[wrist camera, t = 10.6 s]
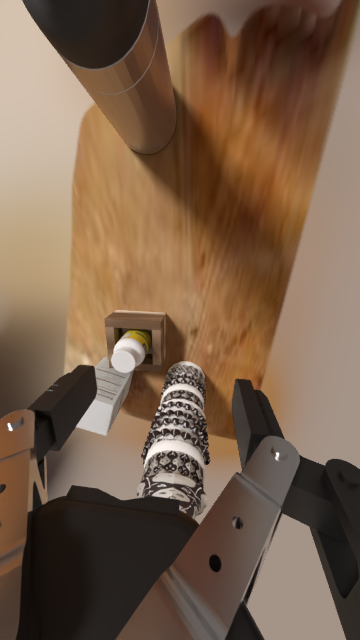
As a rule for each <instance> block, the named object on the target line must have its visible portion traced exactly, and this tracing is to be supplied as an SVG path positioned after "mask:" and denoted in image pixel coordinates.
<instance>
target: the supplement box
mask: <svg viewBox="0 0 360 640" xmlns="http://www.w3.org/2000/svg"><path fill="white" fill-rule="evenodd" d="M133 373H134V370H132V371H131V372H128V373H122V372H119V371H117V370H116V369H114V368H109V359H108V357H104V358H103V359H102V360H101V361H100V362H99V364H98V365H97V366H96V367H95V374H96V382H97V394H96V397H95V399H94V401H93V402H92V404H91V405H90V407H89V408H88V410H87V411H86V413H85V414H84V415H83V417H82V418H81V420H80V421H79V423H78V424H77V426H76V427H78V428H82V429H85V430H88V431H91V432H95V433H98V434H101V435H105V436H106V435H107V434H108V432H109V430H110V428H111V426H112V424H113V422H114V420H115V418H116V416H117V414H118V412H119V410H120V408H121V406H122V404H123V402H124V400H125V398H126V396H127V394H128V392H129V389H130V384H131V380H132V376H133Z"/></svg>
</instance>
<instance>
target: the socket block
mask: <svg viewBox="0 0 360 640" xmlns="http://www.w3.org/2000/svg"><path fill="white" fill-rule="evenodd" d="M105 328H106V338H107V349H108V359H109V368H114V367H113V366H112V363H111V358H112V355H113V354H114V353H113V351H114V347H115V345H116V344H117V342H118V341H119V340H120V339H121V338H122V337H123V336H124V334H125V333H126V332H127V331H128V330H129V329H130V328H131V329H147V330H149V331H150V332H151V334H152V344H151V347H150V348H149V350H148V352H147V354H146V356H145V358H144V360H143V362H142V363H141V364H140V365H138V366H136V367H135V368H134V369H133V370H139V371H152V372H161V370H162V367H163V364H164V361H165V358H166V313H160V312H142V311H124V310H116V311H115V312H113V313H112V314H111V315H109V316H108V317H107V318H105ZM114 369H115V368H114Z"/></svg>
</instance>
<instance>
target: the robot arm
mask: <svg viewBox="0 0 360 640" xmlns="http://www.w3.org/2000/svg"><path fill="white" fill-rule="evenodd" d="M22 1H23V3H24V5H25V7H26V8H27V10H28V12H29V13H30V15H31V17H32V18H33V19H34V21H35V22H36V24H37V25H38V27H39V28H40V30H41V31H42V32H43V34H44V35H45V36H46V37H47V39H48V40H49V42H50V43H51V44H52V46H53V47H54V48H55V49H56V50H57V52H58V53H59V55H60V56H61V57H62V59H63V60H64V61H65V63H66V64H67V65H68V67H69V68H70V69H71V71H72V72H73V73H74V74H75V76H76V77H77V79H78V80H79V81H80V83H81V84H82V85H83V87H84V88H85V89H86V91H87V92H88V93H89V95H90V96H91V97H92V99H93V100H94V101H95V103H96V104H97V105H98V107H99V108H100V109H101V111H102V112H103V113H104V115H105V116H106V118H107V119H108V120H109V122H110V123H111V124H112V126H113V127H114V128H115V130H116V131H117V132H118V134H119V135H120V136H121V138H122V139H123V140H124V142H125V143H126V144H127V145H128V146H129V147H130V148H131V149H133V150H134V151H136V152H138V153H141V154H153V153H156V152H158V151H160V150H161V149H163V148H164V147H165V146H166V145H167V144H168V143H169V141H170V139H171V138H172V136H173V133H174V131H175V127H176V122H177V110H176V104H175V99H174V93H173V87H172V82H171V77H170V71H169V66H168V61H167V55H166V50H165V45H164V39H163V34H162V29H161V23H160V18H159V13H158V7H157V3H156V0H22ZM96 394H97V382H96V374H95V368H94V366H89V365H78V366H77V367H76V368H75V369H74V370H73V371H72V372H71V373H67V374H66V375H64V376H62V377H61V378H59V379H58V380H57V381H56V382H55V383H54V384H53V386H51V387H50V388H49V389H48V390H47V391H45V392H44V393H43V394H42V395H41V396H40V397H39V398H38V399H37V400H36V401H35V402H34V403H33V404H32V405H31V406H30V407H29V408H28V409H26V410H19V411H15V412H12V413H10V414H8V415H6V416H5V417H3V418H2V419H1V420H0V640H264V638H263V636H262V634H261V632H260V630H259V629H258V627H257V625H256V623H255V621H254V619H253V617H252V616H251V614H250V612H249V610H248V608H247V604H248V602H249V599H250V597H251V594H252V592H253V589H254V587H255V584H256V582H257V579H258V576H259V574H260V571H261V568H262V565H263V562H264V560H265V557H266V555H267V552H268V550H269V547H270V545H271V542H272V540H273V537H274V534H275V532H276V530H277V527H278V524H279V522H280V519H281V517H282V514H285V515H287V516H289V517H291V518H293V519H296V520H298V521H300V522H302V523H304V524H306V525H308V526H309V527H310V530H311V533H312V536H313V539H314V542H315V545H316V548H317V551H318V554H319V557H320V561H321V564H322V567H323V570H324V573H325V576H326V579H327V582H328V585H329V588H330V591H331V594H332V597H333V600H334V603H335V606H336V609H337V612H338V615H339V619H340V622H341V625H342V628H343V631H344V634H345V637H346V639H347V640H360V469H358V468H357V467H356V466H354V465H352V464H351V463H348V462H346V461H343V460H340V459H331V460H329V461H328V462H327V463H326V465H325V466H324V465H321V464H319V463H316V462H314V461H311V460H308V459H306V458H304V457H302V456H300V455H299V453H298V451H297V450H296V448H295V447H294V446H293V445H292V444H291V443H289V442H288V441H287V440H285V438H284V436H283V434H282V431H281V429H280V427H279V424H278V422H277V420H276V417H275V415H274V414H273V410H272V408H271V405H270V403H269V400H268V398H267V397H266V396H265V395H264V394H263V393H262V392H261V390H254V388H253V386H252V383H251V380H245V379H236V380H235V385H234V392H233V399H232V415H233V421H234V427H235V432H236V438H237V444H238V449H239V455H240V461H241V466H242V472H241V473H240V474H239V473H238V472H237V473H235V474H234V476H233V477H232V478H231V479H230V481H229V482H228V484H227V485H226V487H225V488H224V490H223V491H222V493H221V494H220V496H219V497H218V498H217V500H216V501H215V503H214V505H213V506H212V507H211V509H210V510H209V512H208V513H207V515H206V516H205V518H204V519H203V521H202V522H201V523H200V525H199V524H198V523H197V522H196V521H195V520H194V519H193V518H192V517H191V516H189V515H188V514H186V513H185V512H183V511H181V510H179V506H180V500H178V499H171V498H164V497H156V496H150V497H143V498H137V499H131V500H119V499H117V498H115V497H113V496H111V495H109V494H107V493H105V492H103V491H101V490H99V489H96V488H88V487H81V486H74V485H72V486H71V488H70V490H69V492H68V494H67V496H62V497H59V498H56V499H53V500H51V501H48V500H47V475H46V457H45V455H46V453H47V452H48V451H49V450H54V451H60V449H61V447H62V446H63V445H64V443H65V442H66V440H67V439H68V437H69V436H70V434H71V433H72V431H73V430H74V429H75V427H76V426H77V424H78V423H79V421H80V420H81V418H82V417H83V415H84V414H85V413H86V411H87V410H88V408H89V407H90V405H91V404H92V402H93V401H94V399H95V397H96Z"/></svg>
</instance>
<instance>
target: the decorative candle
mask: <svg viewBox="0 0 360 640" xmlns="http://www.w3.org/2000/svg"><path fill="white" fill-rule="evenodd" d="M165 380H166V382H164V385H165V386H164V387H163V388H162V391H163V392H162V393H161V397H162V399H161V406H160V407H159V408H158V409H157V413H156V416H155V417H154V421H153V422H152V424H151V431H150V432H149V436H148V437H147V441H146V442H145V447H144V449H143V453H142V455H141V457H142V459H143V460H144V461H143V464H144V473H143V477H142V481H141V482H140V483H139V486H138V489H137V491H136V492H137V496H138V498H143V497H150V496H156V497H164V498H171V499H178V500H180V506H179V510H181V511H183V512H185V513H186V514H188V515H189V516H191V517H192V518H193V519H195V517H196V516H198V515H199V514H201V513H202V512H203V510H204V509H205V507H206V505H207V499H206V494H205V493H204V491H203V480H204V478H205V463H206V465H208V464H209V462H210V457H209V452H208V450H207V448H208V446H209V444H208V442H207V440H208V434H207V431H206V430H205V429H206V427H207V423H206V418H205V414H204V412H203V411H204V405H205V401H204V400H205V399H206V396H205V393H206V392H205V388H206V385H205V374H204V373H203V371H202V369H201V368H200V367H199V366H198V365H196V364H195V363H192V362H189V361H181V362H178V363H175V364H173V365H172V366H171V367H170V368H169V370H168V373H167V376H166V378H165ZM202 444H203V445H202ZM151 445H152V446H151Z"/></svg>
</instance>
